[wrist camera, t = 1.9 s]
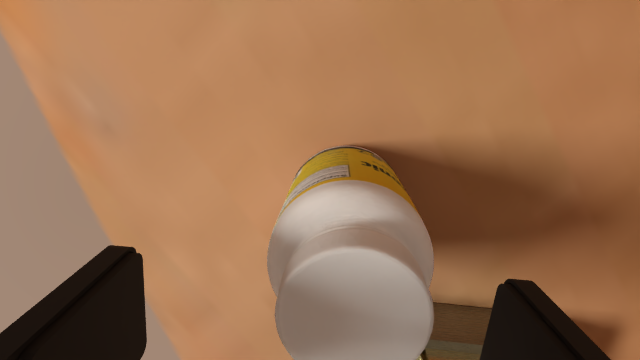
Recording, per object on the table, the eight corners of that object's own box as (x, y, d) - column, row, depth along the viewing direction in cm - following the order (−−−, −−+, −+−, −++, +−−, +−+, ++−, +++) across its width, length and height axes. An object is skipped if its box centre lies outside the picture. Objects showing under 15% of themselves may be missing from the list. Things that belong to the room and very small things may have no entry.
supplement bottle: (418, 218, 19) (497, 367, 9) (322, 261, 20) (307, 435, 10) (371, 122, 18) (409, 182, 8) (271, 172, 18) (202, 278, 9)
